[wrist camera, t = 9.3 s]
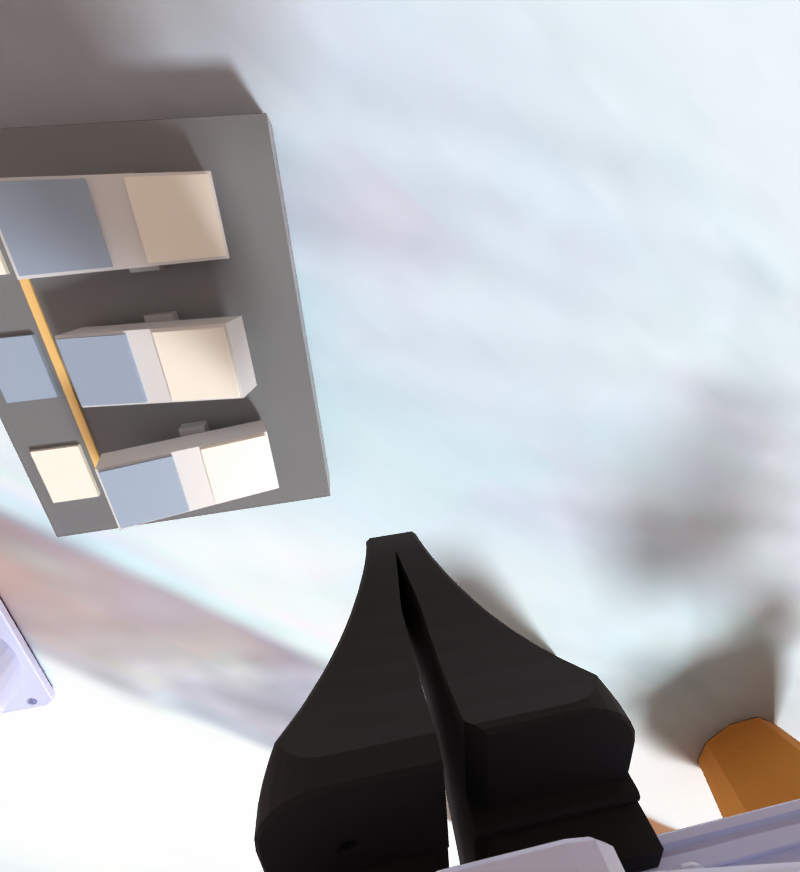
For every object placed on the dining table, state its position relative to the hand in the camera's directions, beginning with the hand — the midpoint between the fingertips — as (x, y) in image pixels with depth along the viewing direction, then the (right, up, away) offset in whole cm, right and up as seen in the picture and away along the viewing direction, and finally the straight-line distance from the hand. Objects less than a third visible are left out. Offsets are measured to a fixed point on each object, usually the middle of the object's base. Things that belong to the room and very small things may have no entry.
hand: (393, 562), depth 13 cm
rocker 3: (-8, +2, +5) cm, 10 cm away
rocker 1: (-9, +10, +1) cm, 14 cm away
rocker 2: (-8, +6, +3) cm, 11 cm away
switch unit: (-10, +8, +6) cm, 14 cm away
